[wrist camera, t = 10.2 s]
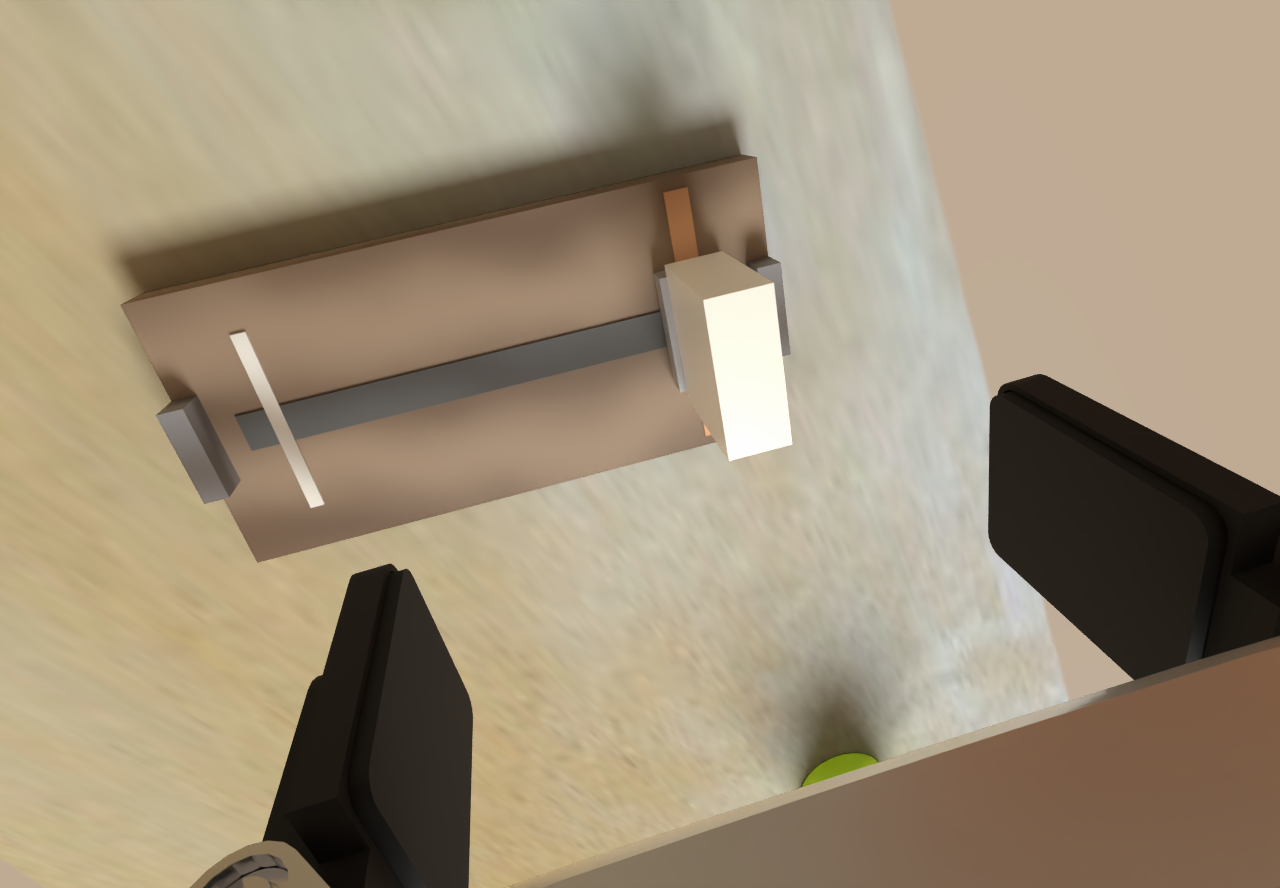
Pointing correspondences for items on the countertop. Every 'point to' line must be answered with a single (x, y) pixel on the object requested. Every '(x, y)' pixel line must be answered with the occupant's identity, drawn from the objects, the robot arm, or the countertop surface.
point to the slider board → (443, 358)
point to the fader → (726, 350)
